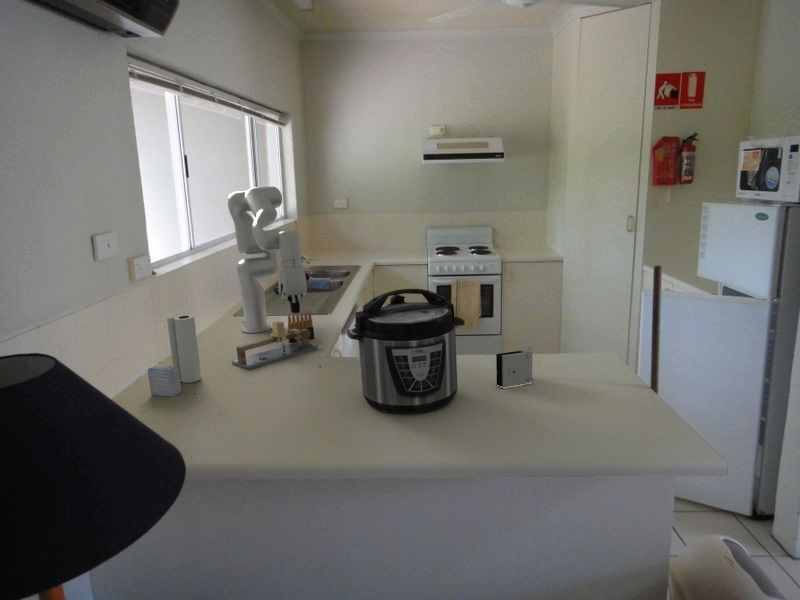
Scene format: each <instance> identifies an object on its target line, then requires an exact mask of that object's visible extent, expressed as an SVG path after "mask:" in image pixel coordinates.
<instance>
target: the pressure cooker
mask: <svg viewBox="0 0 800 600" xmlns="http://www.w3.org/2000/svg"><path fill="white" fill-rule="evenodd" d="M404 294H408V295H409V294H410V295H411V294H412V295H413V294H415V295H422V296H423V297H424V299H425V300H426V301H425V302H423V301H421V302H419V301H418V302H417V301H416V302H412V301H411V302H407V301H405V298H406V296H403V295H404ZM389 297H390V301H389V303H388V304H385V303H386V301H387V300H388V298H389ZM354 317H355V324H354V325H353V326H354V327H353V328H350V329H347V331H346V335H347V337H348V338H349V339H350V340H355V341H358V348H359V359H360V360H359V363H360V376H361V387H362V390H361V391H362V394H363V397H364V399H365V400H366V402H367V404H368V405H370V406H371V407H373V408H375V409H377V410H379V411H382V412H385V413H386V412H387V413H391V414H392V413H393V414H420V413H426V412H430V411H435V410H438V409H440V408H442V407H445V406H447V405H448V404H449V403H451V402H452V401H453V399H454V398H455V396H456V394H457V393H458V369H457V368H458V366H457V362H458V361H457V338H456V336H457V335H456V327H458V326H461V327H462V326H465V325H466V324H465V320H464V319H462V318H461V317H458V316H455V306H454V304H453V303H452V302H451V301H447V299H446V297H444V296H442V294H439V293H437V292H435V291H431V290H428V289H421V288H402V289H396V290H392V291H391V290H390V291H387V292H385V293H382V294H379V295H377V296H376V297H374V298H372V299H370V300H369V301H368V302H366V303H365V304H364V305H363V306H362V310H360V311H356V312H355V313H354Z"/></svg>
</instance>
